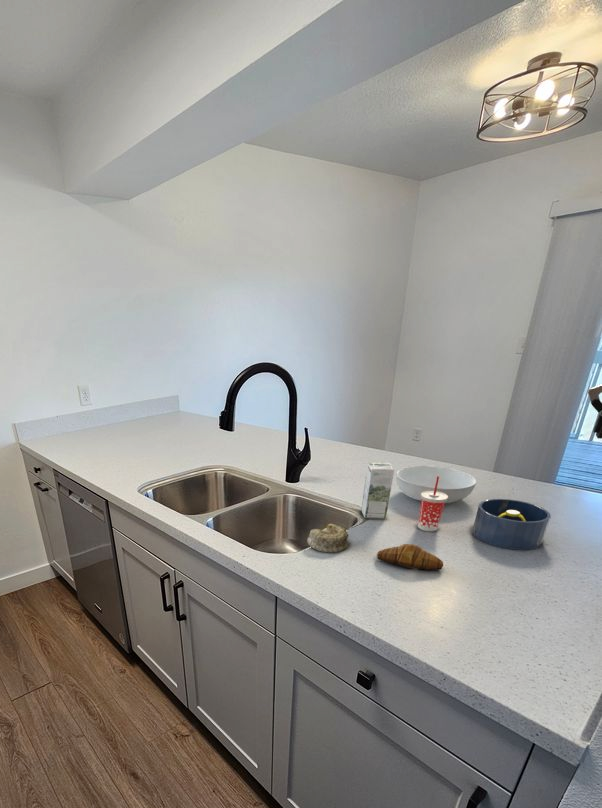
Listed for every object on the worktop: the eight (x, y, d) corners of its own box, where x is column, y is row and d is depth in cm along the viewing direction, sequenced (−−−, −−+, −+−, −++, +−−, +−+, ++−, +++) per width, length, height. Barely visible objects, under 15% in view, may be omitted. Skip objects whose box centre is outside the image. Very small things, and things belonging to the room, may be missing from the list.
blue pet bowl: (539, 530, 108) (548, 504, 105) (542, 555, 98) (552, 527, 95) (474, 519, 116) (480, 495, 112) (470, 541, 105) (477, 515, 102)
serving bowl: (470, 516, 117) (476, 492, 114) (388, 505, 127) (391, 482, 124) (471, 490, 133) (477, 469, 130) (398, 482, 143) (401, 462, 140)
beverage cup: (445, 531, 110) (457, 479, 104) (422, 533, 110) (433, 481, 104) (432, 521, 116) (443, 471, 110) (410, 523, 116) (419, 473, 109)
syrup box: (382, 511, 124) (389, 461, 117) (386, 519, 118) (394, 468, 112) (361, 510, 125) (367, 461, 118) (364, 519, 119) (371, 468, 113)
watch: (522, 534, 106) (529, 512, 103) (521, 539, 104) (529, 516, 101) (493, 529, 109) (499, 507, 106) (492, 533, 107) (498, 511, 104)
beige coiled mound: (356, 545, 107) (360, 526, 105) (329, 559, 103) (333, 539, 100) (324, 529, 114) (327, 511, 112) (298, 541, 109) (300, 523, 107)
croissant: (442, 562, 97) (446, 543, 95) (442, 577, 92) (447, 557, 90) (377, 552, 103) (380, 533, 101) (374, 566, 97) (377, 546, 95)
